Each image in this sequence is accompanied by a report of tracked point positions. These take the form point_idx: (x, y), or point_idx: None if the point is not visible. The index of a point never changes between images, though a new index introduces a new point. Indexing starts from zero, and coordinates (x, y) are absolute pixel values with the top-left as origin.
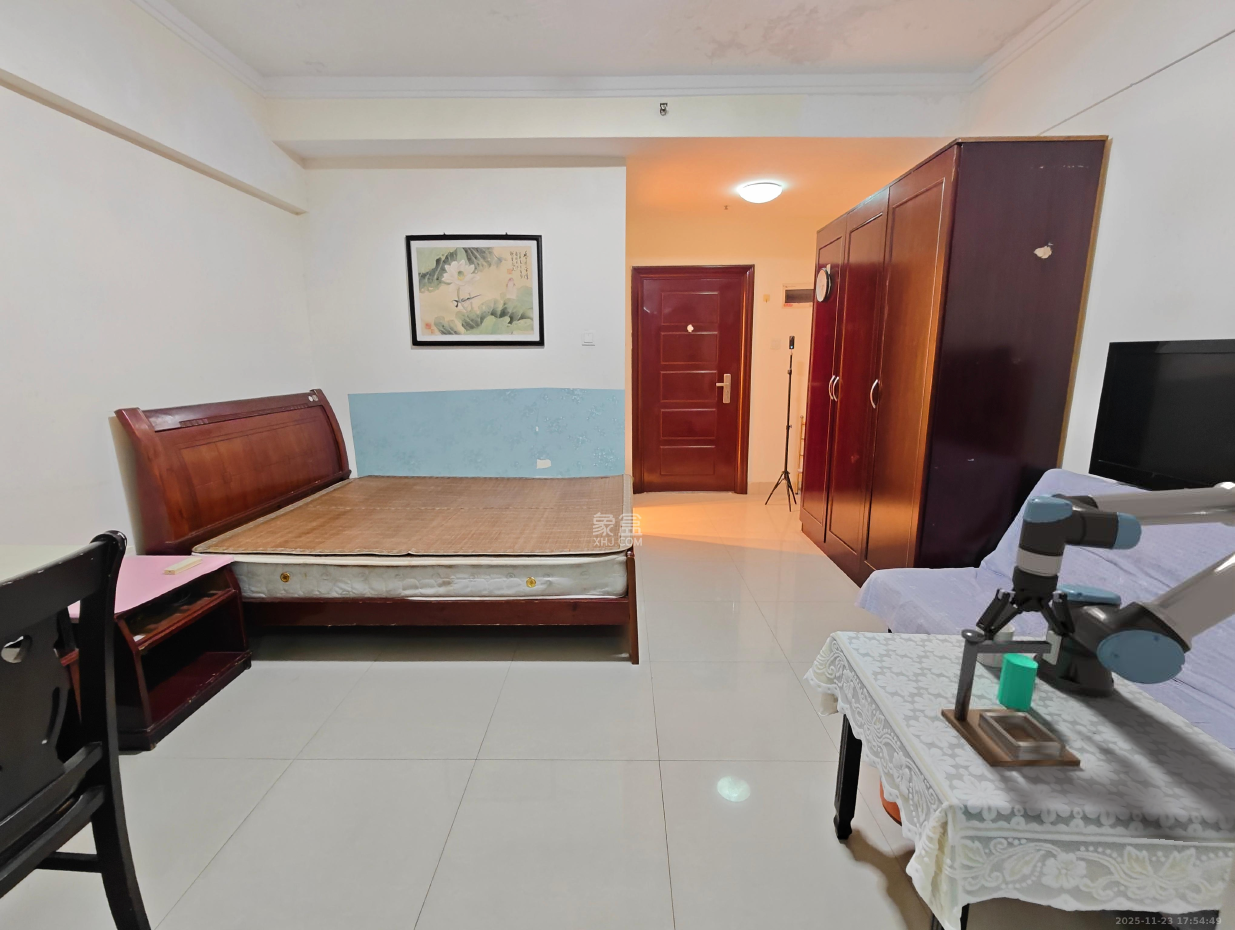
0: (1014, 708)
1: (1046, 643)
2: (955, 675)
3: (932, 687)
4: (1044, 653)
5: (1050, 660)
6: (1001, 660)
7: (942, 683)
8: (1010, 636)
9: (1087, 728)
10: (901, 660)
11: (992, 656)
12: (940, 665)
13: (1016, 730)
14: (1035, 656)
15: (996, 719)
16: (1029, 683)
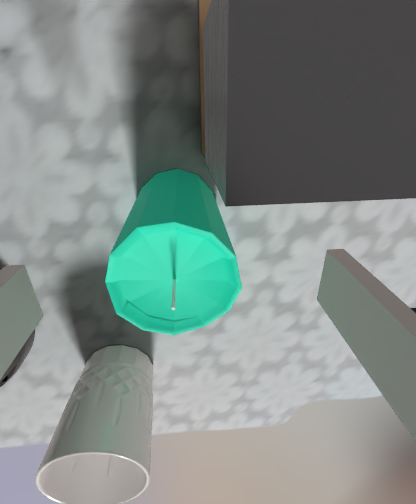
0: (198, 176)
1: (368, 23)
2: (249, 309)
3: None
4: (28, 329)
5: (22, 286)
6: (107, 361)
7: (307, 277)
8: (71, 436)
9: (16, 79)
10: (331, 350)
11: (366, 269)
12: (255, 341)
13: None
14: (2, 381)
15: None
16: (167, 195)
